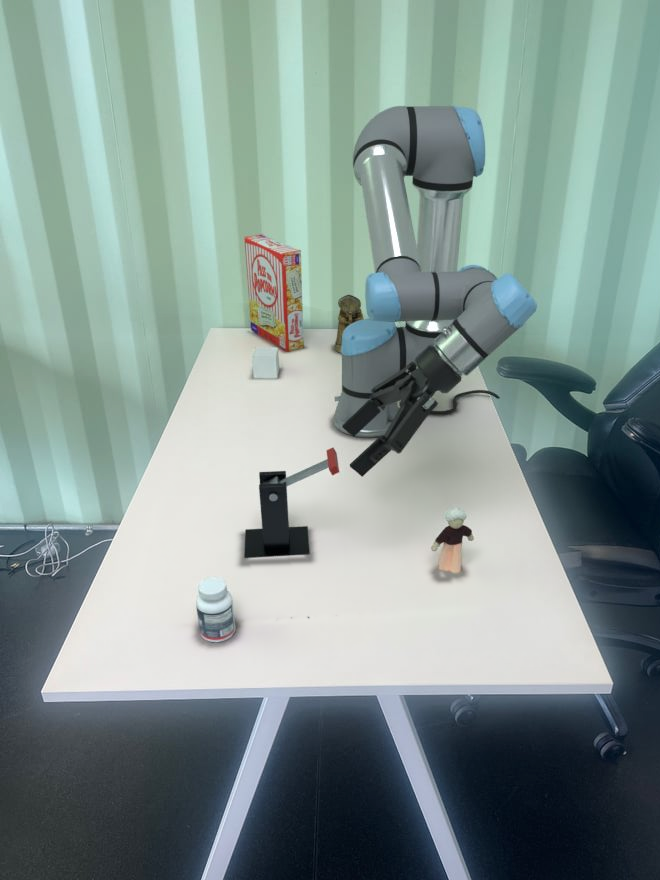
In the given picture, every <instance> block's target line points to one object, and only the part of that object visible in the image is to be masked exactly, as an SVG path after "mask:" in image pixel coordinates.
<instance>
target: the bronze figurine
mask: <svg viewBox="0 0 660 880" xmlns="http://www.w3.org/2000/svg"><path fill="white" fill-rule="evenodd" d="M337 304H338V308H339V313H338V317H337V321H338V325H337V333H336V341H335V342H334V350H335V351H336V352H338V353H340V354H342V353H341V346H342V334H343V331H344V330H345V328H346V327H348V326H349V325H351V324H352V323H354V322H357V321H360V320H363V319H364V315H363V313H362V309H361V307H362V302H361V300H360V299H359V298H358V297H356V296H355V295H351V294H346V295H344V296H342V297H341V298H339V299H338V301H337Z"/></svg>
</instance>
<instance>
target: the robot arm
mask: <svg viewBox="0 0 660 880" xmlns="http://www.w3.org/2000/svg"><path fill="white" fill-rule="evenodd" d="M485 166H486V140H485V132H484V127H483V123H482V119H481V117H480V115H479V113H478V111H476V110H475V109H474V108H471V107H464V106H457V105H456V106H455V105H429V106H427V105H426V106H425V105H423V106H422V105H419V106H406V105H397V106H396V105H395V106H391V107H388V108H386V109H384V110H382V111H380V112H379V113H377V114H376V115H375V116H373V117H372V118H371V119H369V121H368V122H367V123H366V124H365V126H364V127H363V129H362V130H361V132H360V133H359V135H358V137H357V140H356V143H355V145H354V148H353V153H352V167H353V173H354V178H355V181H356V182H357V183H358V185H359V186H360V187H361V189H362V196H363V197H362V198H363V202H364V203H363V205H364V210H365V216H366V223H367V229H368V237H369V242H370V243H369V244H370V249H371V257H372V262H373V263H372V264H373V268H374V269H373V271H374V272H371V273H369V274H368V275H367V276H366V279H365V285H364V287H365V289H364V297H365V310H366V314H367V315H366V316H367V317H368V318H363V320H360V321H357V322H354V323H352V324H351V325H349V326H348V327H346V328H345V330H344V331H343V334H342V346H341V353H340V354H341V393H340V395H337V396H334V402H335V403H336V402H337V405H336V408H335V410H334V415H333V419H334V420H333V422H334V426H335V428H336V430H338V431H340V432H341V433H344V434H346V435H349V436H352V437H353V438H354V437H357V438H365V439H366V438H368V439H369V438H376V439H375V440H374V441H373V442H372V443H371V444H370V445H368V447H366V448H365V449H364V450H363V451H362V452H361V453H360V454H359V455H358V456H357V457H356V458H355V459H354V460H353V461H351V462H350V463H349V467H350V468H351V469H352V470H353V471H354V472H356V473H357V474H358V475H359V476H360V477H361V478H363V477H364V476H365V475H367V474H368V472H369V471H370V470H372V469H373V468H374V467H375V466H376V465H377V464H378V463H379V462H380V461H382V460H383V458H385V457H386V456H387V455H388V454H389V453H390V452H391V451H393V452H395V453H396V454H397V455H399V454H401V453H402V452H403V450H404V449H405V448H406V446H407V445H408V444H409V442H410V441H411V439H412V438H413V437H414V435H415V434H416V432H417V431H418V430H419V428H420V427H421V425H423V423H424V421H425V420H426V419H427V418H428V416H429V415H431V414H432V415H448V414H451V413H453V412H455V411H456V410H457V408H458V403H457V399H458V398H460V397H464V396H468V395H472V394H485V395H486V394H487V395H490V396H492V397H494V398H495V399H497V400H498V399H501V397H500V396H499V395H498V394H497V393H495V392H493V391H490V390H485V389H474V390H473V389H472V390H468V391H463V392H460V393H457V394H456V395H454V397H453V398H452V403H453V407H451V408H450V409H447V410H434V409H436V408H437V407H438V405H439V402H438V401H437V400H436V399H435V398H434V397H433V396H434V395H435V394H436V393H437V392H440V393H442V394H444V395H446V394H448V393H450V392H451V391H452V390H453V389H454V388H456V387H457V386H458V385H459V384H460V383H461V382H462V378H463V377H462V376H464V377H467V376H469V375H470V374H471V373H472V372H473V371H474V370H475V369H477V368H478V367H479V366H480V365H481V364H482V363H483V362H484V361H485V360H486V358H487V357H489V356H491V354H492V353H493V352H495V351H496V349H498V348H499V347H500V346H502V344H503V343H505V342H506V340H508V339H509V338H510V337H511V336H512V335H513V334H515V333H516V332H517V331H518V330H519V329H521V328H522V327H523V326H524V325H525V323H526V322H527V321H528V320H529V319H530V318H531V317H532V316H533V315H534V314H535V313H536V312H537V309H538V304H537V302H536V300H535V299H534V298H533V296H532V295H531V294H530V293H529V292H528V291H527V289H526V288H525V287H524V286H523V285H522V284H521V283H520V282H519V281H518V279H517V278H516V277H515V276H514V275H513V274H512V273H509V272H507V273H503V274H502V275H501V276H499V277H497V276H496V275H495V274H494V273H493V272H491V271H490V270H489V269H487V268H485V267H484V266H481V265H478V264H469V265H465V266H464V267H462V268H459V269H458V267H459V266H458V263H459V253H460V252H459V251H460V243H461V242H460V241H461V230H462V220H463V219H462V217H463V208H464V197H465V196H466V195H467V194H468V193H469V192H470V191H471V190H472V188H473V184H474V183H473V182H474V177H475V178H477V177H479V176H481V175H482V174H483V173H484V168H485ZM405 177H412V183H411V184H412V186H413V188H414V189H415V191H417V192H418V195H419V201H418V217H417V218H418V219H417V238H416V236H415V230H414V226H413V225H414V224H413V219H412V215H411V209H410V204H409V199H408V194H407V189H406V188H407V187H406V183H405ZM398 322H405V326H397V324H396V323H398ZM398 402H399V405H398Z"/></svg>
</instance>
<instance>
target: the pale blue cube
mask: <svg viewBox="0 0 660 880" xmlns="http://www.w3.org/2000/svg"><path fill="white" fill-rule="evenodd" d="M251 360H252V361H251V362H252V372H253V379H278V376H279V372H280V356H279V347H260V346H259V347H257V346H256V347H254V349H253V351H252V355H251Z"/></svg>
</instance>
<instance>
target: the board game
mask: <svg viewBox="0 0 660 880" xmlns="http://www.w3.org/2000/svg"><path fill="white" fill-rule="evenodd" d="M243 239H244V251H245V264H246V276H247V277H246V278H247V291H248V304H249V316H250V317H249V319H250V330H251V332H253V333H255V334H256V335H258V336H260V337H261V338H263V339H265V340H266V341H268V342H269V343H271V344H273V345H274V346H276V347H277V348H278V349H281V350H283V352H285V353H287V352H288V353H289V352H293V351H297V350H301V349H304V348H305V345H304V343H305V342H304V341H305V340H304V339H305V338H304V319H303V318H304V316H303V314H304V313H303V283H302V282H303V281H302V280H303V279H302V278H303V276H302V275H303V274H302V250H301V249H298V248H296V247H294V246H293V247H292V246H290V245H288V244H285V243H283V242H281V241H278V240H276V239H274V238H272V237H269V236H267V235H266V234H263V233H261V234H255V235H248V236H244V238H243Z"/></svg>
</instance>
